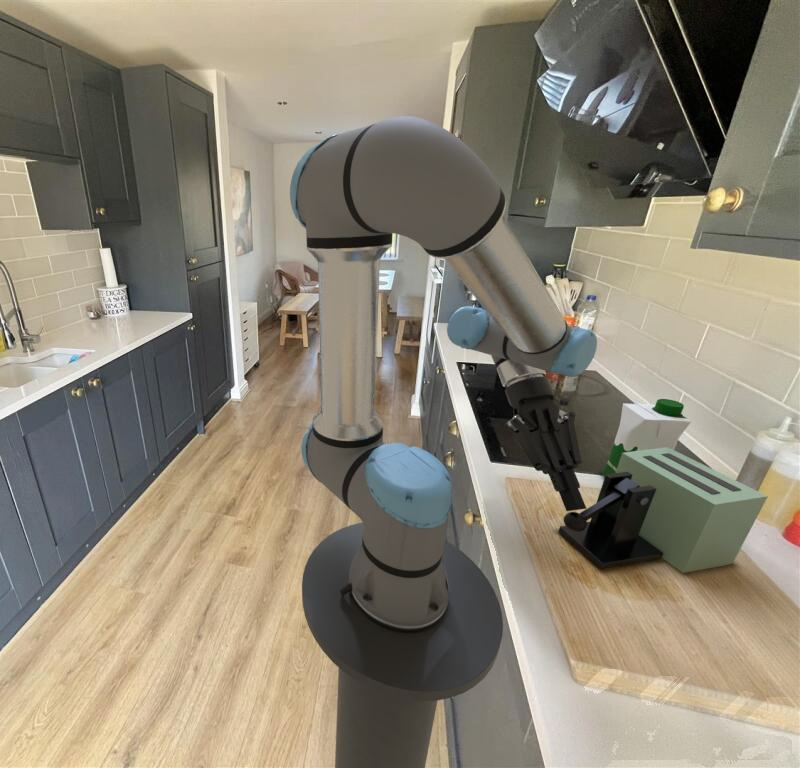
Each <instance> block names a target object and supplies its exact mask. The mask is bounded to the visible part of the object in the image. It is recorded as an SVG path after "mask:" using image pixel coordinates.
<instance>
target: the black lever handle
mask: <svg viewBox="0 0 800 768" xmlns="http://www.w3.org/2000/svg"><path fill="white" fill-rule="evenodd" d="M636 487H640V486H639V485H638V484H636V483H635V482H633V481H632V480H630V479H628V478H626V479H624V480H622V481H621V482H619V483H618V484H616V485H614V486H613V489H614V493H612V494H611V495H609V496H607V497H606V498H604V499H602V500H601V501H599V502H597V501H596V502H597V503H594V504H592V505H591V506H589V507H588V508H587V507H586V508H587V509H583V510H582V511H581V512H576V511H568V513H567V512H566V514H565V515H564V517H563V524H564V526H566V527H567V528H568V529H570V530H572V531H575V532H580V531H583V530H584V529H585V528H586V526H587V522H588V521H589V520H591V518H592V517H594V516H595V515H597V514H599V513H600V512H602V511H604V510H605V509H607V508H609V507H610V506H612V505H614V504H615V503H617V502H619V501H620V500H624V498H625V495H626V492H627V490H628V489H629V488H636Z"/></svg>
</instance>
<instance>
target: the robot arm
mask: <svg viewBox="0 0 800 768" xmlns="http://www.w3.org/2000/svg"><path fill="white" fill-rule="evenodd" d="M289 200H290V206H291V209H292V213H293V215H294V217H295V219H296V220H298V222H299V224H300V225H301V227H303V228H304V229H305V235H306V236H305V237H306V250H307V251H308V253H310V254H311V256H312V257H314V259H315V260H316V261H317V280H318V282H317V283H318V317H319V318H318V322H319V323H318V324H319V325H318V327H319V329H318V331H319V375H320V376H319V378H320V380H319V381H320V410H319V411H318V412H317V413H316V414H315V415H313V418H312V422H311V423H310V424H309V426H308V427H307V429H308V431H307V432H306V433H304V434H303V437H302V441H301V457H302V460H303V463H304V464H305V466H306V468H307V469H308V471H309V472H310V474H311V475H312V476H313V477H314V478H315V480H317V481H318V482H319V483H320V484H322V485H323V486H324V487H325V488H326V489H328V491H330V492H331V493H332V494H333V495H334V496H335V497H336V498H337V499H338V500H339V501H341V502H342V503H343V504H344V505H345V506H346V507H347V508H348V509H349V510H350V511H351V512H353V513H354V514H355V515H356V516H357V517H358V518H359V519H360V520H361V523H363V538H362V543H361V545H360V547H359V549H358V551H357V553H356V554H355V556H354V558H353V560H352V563H351V566H350V570H349V580H348V585H346V586H345V587H344V588H342V589H341V590H340V593H341V594H342V595H345V594H346V593H348V592H349V591H350V594H351V597H352V599H353V601H354V603H355V604H356V606H357V607H358V609H359V610H360V611H361V612H362V613H363V614H364V615H365V616H366V617H367V618H369V619H370V620H371V621H373V622H374V623H376V624H378V625H380V626H382V627H384V628H386V629H389V630H392V631H396V632H402V633H417V632H422V631H425V630H428V629H430V628H432V627H434V626H435V625H436V624H438V623H439V622H440V621H441V619H442V618H443V617H444V615H445V613H446V610H447V605H448V599H449V589H448V588H449V586H448V580H447V579H446V578H447V574H446V575H445V572H446V570H445V571H444V567H443V564H442V560H441V559H442V553H443V547H444V541H445V540H446V535H447V529H448V523H449V517H450V515H451V512H452V506H453V505H452V503H453V502H452V499H453V498H452V491H453V489H452V488H453V484H452V478H451V475H450V473H449V471H448V470H447V468H446V466H445V465H444V464H443V462H441V461H440V460H439V459H438V458H437V457H436V456H435V455H433V454H432V453H430V452H428V451H427V450H425V449H423V448H420V447H417V446H414V445H413V446H411V447H410V446H408V445H407V444H406V443H399V442H398V443H397V442H396V443H395V442H393V443H384V440H383V439H384V438H383V437H384V420H383V418H382V416H381V415H380V414H379V413H377V412H376V410H375V403H376V401H375V400H376V378H377V377H376V375H377V373H376V372H377V349H378V348H377V347H378V321H379V294H380V293H379V291H380V269H381V259H382V257H383V256H384V255H385V254H386V253H387V252H388V250H390V248H391V247H393V234H394V235H395V234H396V235H399V236H403V237H406V238H408V239H410V240H412V241H414V242H416V243H417V244H418V245H420V247H422V249H423V250H424V251H425V253H426V254H428V256H430V257H432V258H435V259H443V260H444V261H445V262H446V264H447V265H448V266H449V267H450V268H451V270H452V271H453V272H454V273H455V275H456V276H457V277H458V278H459V280H460V281H461V282H462V283H463V284H464V286H465V287H466V288H467V289H468V291H469V292H470V293H471V294H472V295H473V297H474V298H475V299H476V300H477V302H478V303H479V304H480V305H481V307H478V306H472V305H466V306H463V307H460V308H458V309H457V310H456V311H455V312H453V314H452V315H450V317H449V320H448V322H447V326H446V333H447V337H448V339H449V341H450V342H451V343H452V344H453V345H455V346H456V347H457V346H458V347H460V348H461V349H465V350H472V351H476V352H477V353H482V354H486V355H490V356H491V358H492V361H493V364H494V366H495V369H496V371H497V374H498V376H499V379H500V382H501V385H502V387H504V388H505V390H504V393H505V395H506V398H507V401H508V404H509V406H510V407H511V408H513V411H512V413H513V417H512V418H511V419H510V420H508V421H506V422H505V423H504V426H505V427H506V428H507V429H508V430H509V431H510V433H512V434H513V436H514V437H515V439H516V440H517V442H518V444H519V445H520V447H521V448H522V450H523V452H524V453H525V455H526V456H527V458H528V460H529V462H530V463H531V465H532V467H533V468H534V470H535V471H537V472H542V473H543V475H548V477H549V479H550V481H551V483H552V486H553V489H554V490H555V492H558V493H559V496H560V498H561V501H562V503H563V506H564V509H565V511H566V512H574V511H580V510H586V509H587V506H586V504H585V501H584V498H583V496H582V494H581V492H580V488H581V484H580V482H579V479H578V477H577V475H576V473H575V469H577V468H578V466H579V465H581V464H582V462H583V460H582V455H581V450H580V445H579V441H578V437H577V432H576V431H577V430H576V427H575V421H576V413H574V412H573V411H569V412H566V411H564V410H561V409H560V406H559V405H558V404H557V402H556V401H555V399H554V397H555V391H554V389H553V387H552V385H551V382H550V380H549V378H548V377H546V375H547V373H546V372H549V373H550V374H558V375H561V376H565V377H577V376H580V375H582V374H583V373H584V372H585V371H587V369H588V367H590V365H591V363H592V362H593V360H594V357H595V355H596V352H597V348H598V338H597V335H596V334H595V332H594V331H592V330H590V329H587V328H581V327H580V326H577V325H576V326H571V325H569V324H568V322H567V320H566V319H565V317H564V315H563V314H562V312H561V311H560V309H559V306H557V304H556V302H555V300H554V298H553V297H552V295H551V293H550V292H549V290H548V289H547V286H545V283H544V282H543V280H542V279H541V276H540V275H539V273H538V271H537V270H536V268H535V266H534V265H533V263H532V261H531V260H530V257H529V256H528V254H527V253H526V251H525V249H524V248H523V246H522V245H521V243H520V241H519V239H518V238H517V236H516V234H515V233H514V231H513V229H512V227H511V226H510V224H509V222H508V220H507V219H506V217H505V216H504V215H505V212H506V207H507V198H506V196H505V194H504V191H503V189H502V188H501V186H500V184H499V182H498V181H497V179H496V178H495V177H494V174H493V172H491V171H490V169H489V168H488V166H487V165H486V164H485V162H484V161H483V160H482V159H481V158H480V157H479V155H477V154H476V153H475V152H474V151H473V150H472V149H471V148H470V147H469V145H467V144H466V143H465V142H464V141H462V140H461V139H460V138H459V137H457V136H456V135H454V134H453V133H452V132H451V131H449V130H447V129H446V128H444V127H442V126H440V125H439V124H437V123H435V122H432V121H430V120H428V119H425V118H421V117H417V116H413V115H412V116H409V115H399V116H392V117H388V118H385V119H382V120H379V121H377V122H376V123H372V124H369V125H366V126H361V127H359V128H355V129H353V130H348V131H345V132H342V133H339V134H333V135H331V136H329V137H326V138H324V139H323V140H321V141H320V142H319V143H316V144H314V145H313V146H311V147H310V148H309V149H308V150H307V151H306V152H305V153H304V154H303V155H302V157H301V158H300V159H299V161H298V162H297V163H296V166H295V168H294V170H293V173H292V176H291V180H290V185H289Z"/></svg>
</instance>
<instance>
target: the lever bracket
mask: <svg viewBox="0 0 800 768" xmlns="http://www.w3.org/2000/svg"><path fill="white" fill-rule="evenodd" d="M626 478H628V479H630V480H631V478H632V474H631V473H629V472H621V473H614V474H607V475H605V476H604V479H603V482H602V485H601V487H600V491H599V493H598V497H597V500H596V503H597V502H599V501H601V500H602V499H604V498H606V497H607V496H609V495H611V494H612V493H614V489H613V486H614V485H616V484H618V483H619V482H621V481H622V480H624V479H626ZM655 492H656V488H654V487H652V486H651V485H650V486H643V487H636V488H629V489H628V490H627V492H626V495H625V498H624V501H623V500H620V501H619V502H617V503H615V504H614V505H612V506H610V507H609V508H607V509H605V510H604V511H602V512H600V513H599V514H597V515H595V516H594V517H592V518H590V521H586V522H587V526H586V528H585V529H584V530H583V531H580V532H575V531H572V530H570V529H568V528H567V527H566V525H560V526H559V528H558V534H560V535H561V536H562V537H563V538H564V539H565V540H567V541H568V543H570V544H571V545H572V546H573V547H574V548H575V549H576V550H578V551H579V552H580V553H581V554H582V555H583V556H584V557H585V558H587V559H588V560H589V561H590V562H591V563H592V564H593V565H594V566H595V567H597V569H599V570H600V571H603V570H607V569H615V568H619V567H627V566H631V565H637V564H643V563H649V562H655V561H658V560H659V561H660V560H662V559H663V558H662V556H663V554H664V553H663V552H661V551H660V550H658V549H657V548H656V547H654V546H653V545H652V544H650V543H649V542H648V541H646V540H645V539H643V538H642V537H641V536H639V532H640V530H641V527H642V525H643V522H644V520H645V517H646V515H647V512H648V510H649V507H650V504H651V502H652V499H653V497H654V494H655ZM596 503H595V504H596ZM619 511H620V512H619Z"/></svg>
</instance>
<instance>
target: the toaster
mask: <svg viewBox="0 0 800 768" xmlns="http://www.w3.org/2000/svg"><path fill="white" fill-rule="evenodd" d="M621 472H629V473H631V474H632V478H631V480H632V481H633V482H635V483H636V484H638V485H639V486H640V487H643V486H650V485H651V486H652V487H654V488H656V492H655V494H654V497H653V499H652V502H651V504H650V507H649V510H648V512H647V515H646V517H645V520H644V522H643V525H642V527H641V530H640V532H639V536H641V537H642V538H643V539H645V540H646V541H648V542H649V543H650V544H652V545H653V546H654V547H656V548H657V549H658V550H660V551H661V552H663V553H664V554H663V556H662V558H661V559H663V560H665V561H666V562H667V563H668V564H670V565H671V566H672V567H674V568H675V569H676V570H677V571H679V572H680V573H681V574H685V573H690V572H697V571H702V570H707V569H712V568H718V567H722V566H723V567H724V566H728V565H729V566H730V565H733V564H734V562H735V560H736V557H737V556H738V554H739V552H740V550H741V548H742V546H743V544H744V543H745V541H746V539H747V537H748V535H749V533H750V531H751V529H752V528H753V525H754V524H755V522H756V520H757V518H758V516H759V514H760V512H761V510H762V509H763V506H764V505H765V503H766V501H767V499H768V497H769V496H768V495H766V494H764V493H763V492H760V491H758V490H756V489H754V488H752V487H750V486H748V485H745V484H744V483H742V482H740V481H738V480H736V479H733V478H732V477H730V476H727V475H726V474H723V473H721V472H719V471H717V470H715V469H713V468H711V467H709V466H707V465H705V464H703V463H701V462H699V461H697V460H695V459H693V458H691V457H688V456H686V455H685V454H682V453H680V452H679V451H676V450H675V449H674V450H673V449H670V448H668V447H664V448H656V449H648V450H640V451H633V452H625V453H622V455H621V458H620V461H619V464H618V467H617V470H616V473H621ZM623 501H624V500H623ZM619 512H620V511H619Z"/></svg>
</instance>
